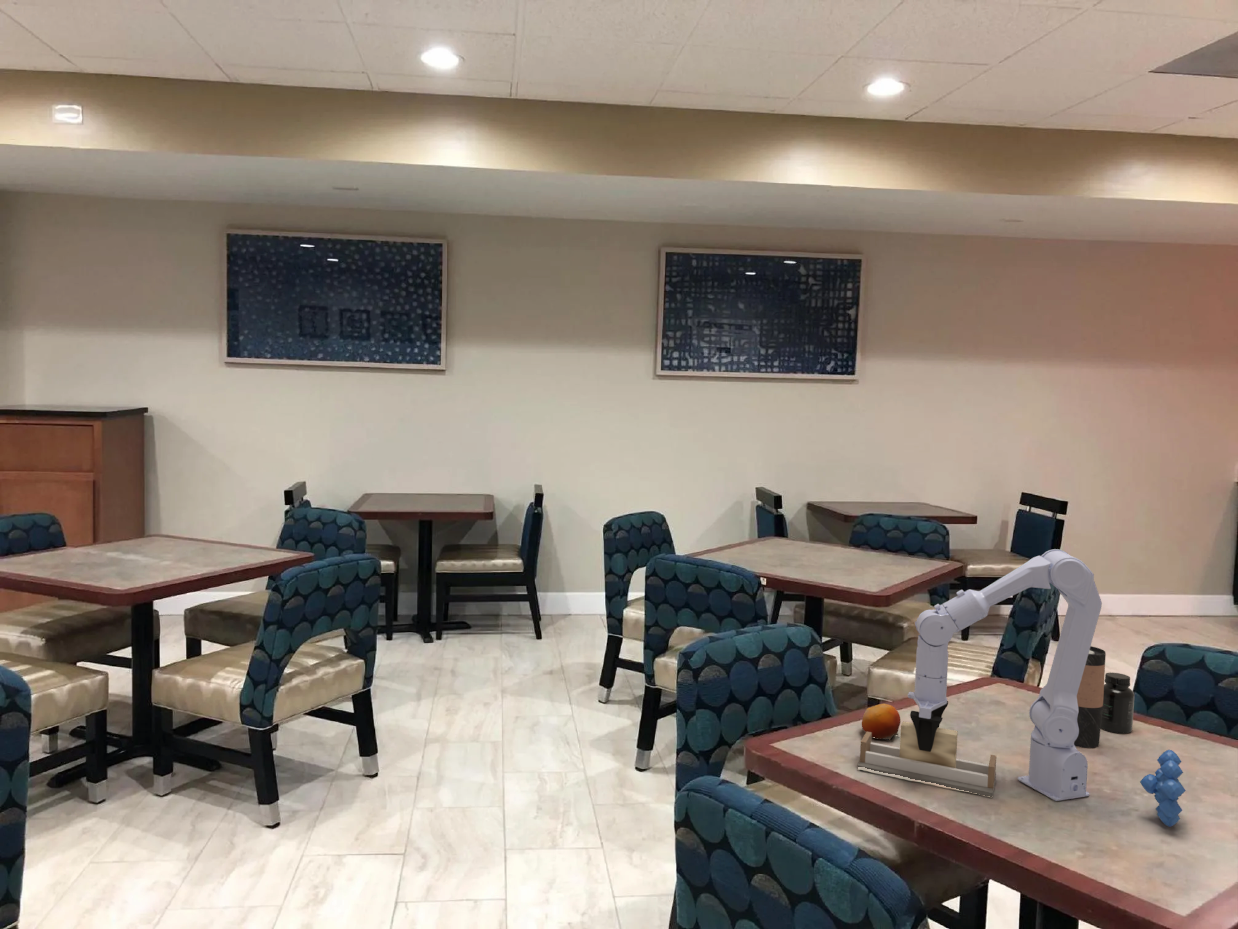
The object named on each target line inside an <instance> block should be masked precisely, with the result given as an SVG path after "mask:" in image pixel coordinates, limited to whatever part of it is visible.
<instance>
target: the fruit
mask: <svg viewBox="0 0 1238 929" xmlns="http://www.w3.org/2000/svg"><path fill="white" fill-rule="evenodd" d="M900 727H901V716H900V713H899V711H898V710H897V709H896V707H894V706H893V705H892V704H887V703H880V704H876V705H872V706H871V707H868V708H866V709H865V711H864V713H863V715H862V720H861V728H862V729H863V732H864V733H866V732H872V737H875V738H878V739H877V740H886V739H889V740H890V741H891V739H892V738H893V737H894V736H896V735H898V732H899V728H900ZM889 740H888V741H889Z"/></svg>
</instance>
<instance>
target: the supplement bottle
mask: <svg viewBox="0 0 1238 929" xmlns="http://www.w3.org/2000/svg"><path fill="white" fill-rule="evenodd" d="M1130 687H1131V677H1130V676H1129V675H1127V674H1125V673H1119V672H1111V671H1110V672H1105V676H1104V694H1103V709H1102V719H1101V729H1100V730H1103V731H1106V732H1108V733H1109V732H1110V733H1114V734H1119V735H1121V734H1122V735H1123V734H1129V733H1131V732H1132V731H1133V721H1134V707H1135V693H1134V691H1133V690H1132V688H1130Z"/></svg>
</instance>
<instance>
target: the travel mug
mask: <svg viewBox="0 0 1238 929" xmlns="http://www.w3.org/2000/svg"><path fill="white" fill-rule="evenodd" d="M1106 656H1107V654H1106V651H1105V650H1104V649H1103V648H1098V647H1096V646H1092V645H1091V646H1090V650H1089V654H1088V657H1087V661H1086V664H1085V668H1084V671H1083V675H1082V679H1081V682H1080V686H1079V689H1078V693H1077V703H1078V710H1079V713H1078V716H1077V723H1078V727H1079V734H1078V737H1077V739H1076V740H1075V741H1074V745H1075V747H1079V748H1085V749H1091V748H1092V749H1095V748H1096V747H1098V746H1100V737H1101V730H1102V729H1101V719H1102V709H1103V694H1104V684H1105V674H1106Z"/></svg>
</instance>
